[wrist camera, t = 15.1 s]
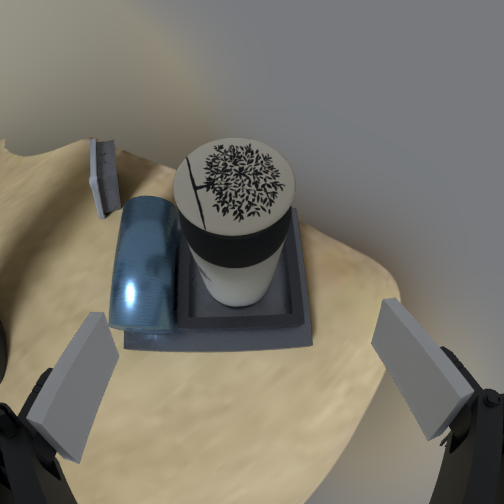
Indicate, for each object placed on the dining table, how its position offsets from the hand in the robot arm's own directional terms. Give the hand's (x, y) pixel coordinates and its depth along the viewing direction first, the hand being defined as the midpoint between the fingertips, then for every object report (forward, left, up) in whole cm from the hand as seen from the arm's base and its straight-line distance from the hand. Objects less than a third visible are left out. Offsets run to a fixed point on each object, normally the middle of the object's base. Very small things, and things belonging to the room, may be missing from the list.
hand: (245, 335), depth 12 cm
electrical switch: (-20, +24, -21) cm, 38 cm away
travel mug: (0, +9, -19) cm, 21 cm away
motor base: (-3, +9, -21) cm, 23 cm away
